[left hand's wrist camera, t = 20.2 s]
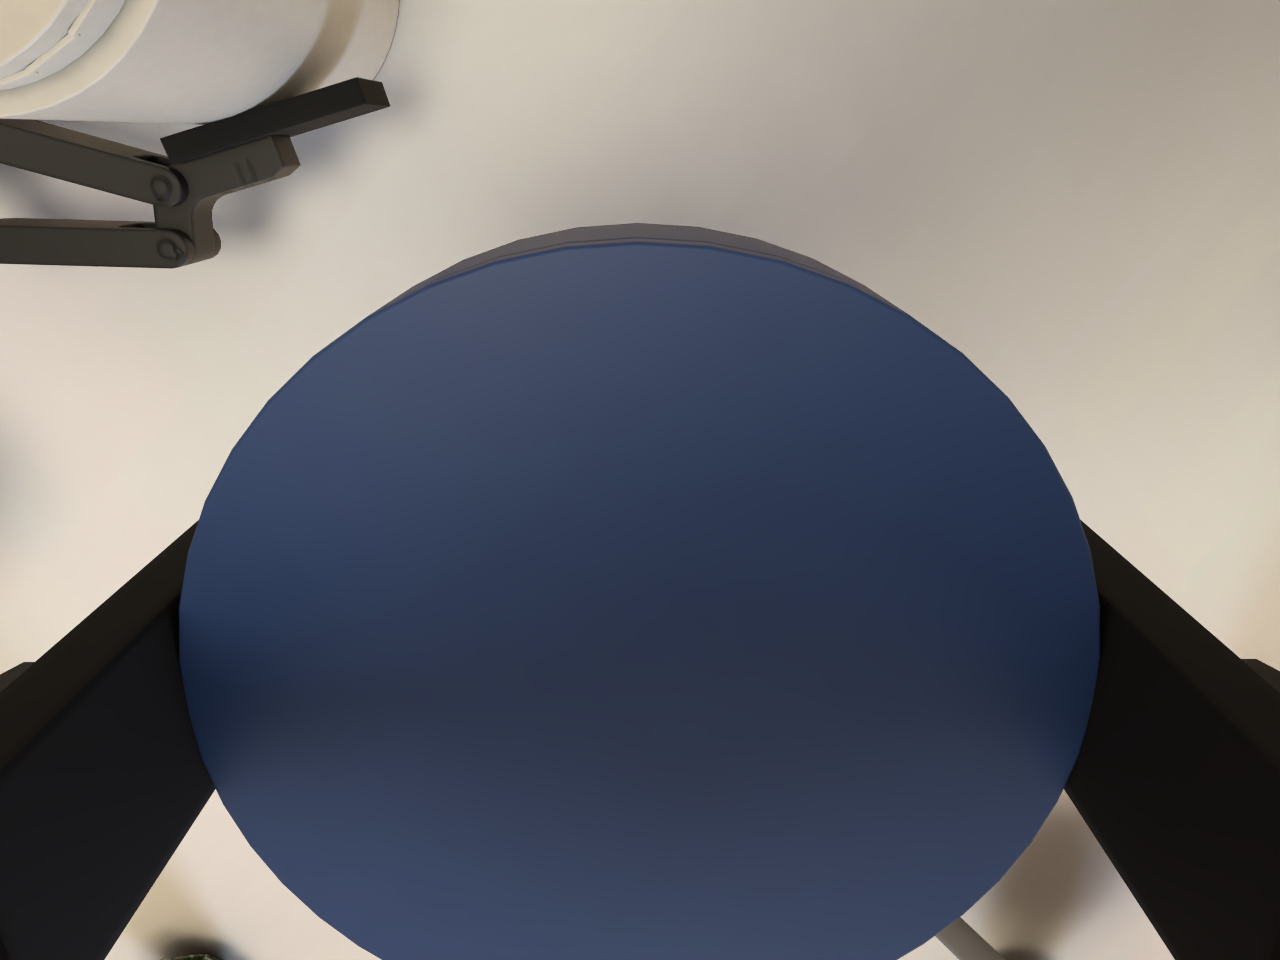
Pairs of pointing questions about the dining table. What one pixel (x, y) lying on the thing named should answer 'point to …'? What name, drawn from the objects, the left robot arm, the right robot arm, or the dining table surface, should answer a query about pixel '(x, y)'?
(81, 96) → the jar
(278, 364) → the dining table surface
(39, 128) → the right robot arm
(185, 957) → the grenade
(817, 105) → the dining table surface
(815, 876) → the lid
